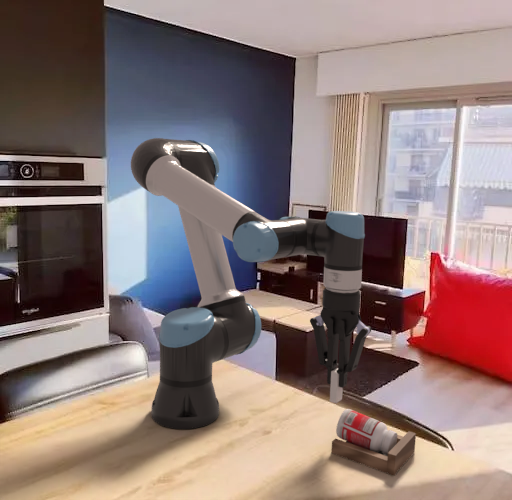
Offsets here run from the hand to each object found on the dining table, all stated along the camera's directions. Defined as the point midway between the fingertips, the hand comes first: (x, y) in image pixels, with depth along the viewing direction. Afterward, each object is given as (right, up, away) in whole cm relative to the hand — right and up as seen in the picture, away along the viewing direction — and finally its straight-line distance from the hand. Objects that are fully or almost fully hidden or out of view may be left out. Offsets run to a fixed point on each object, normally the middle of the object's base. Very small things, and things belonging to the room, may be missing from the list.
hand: (335, 400), depth 113 cm
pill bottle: (+1, -4, 0) cm, 5 cm away
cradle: (+6, -9, -3) cm, 12 cm away
